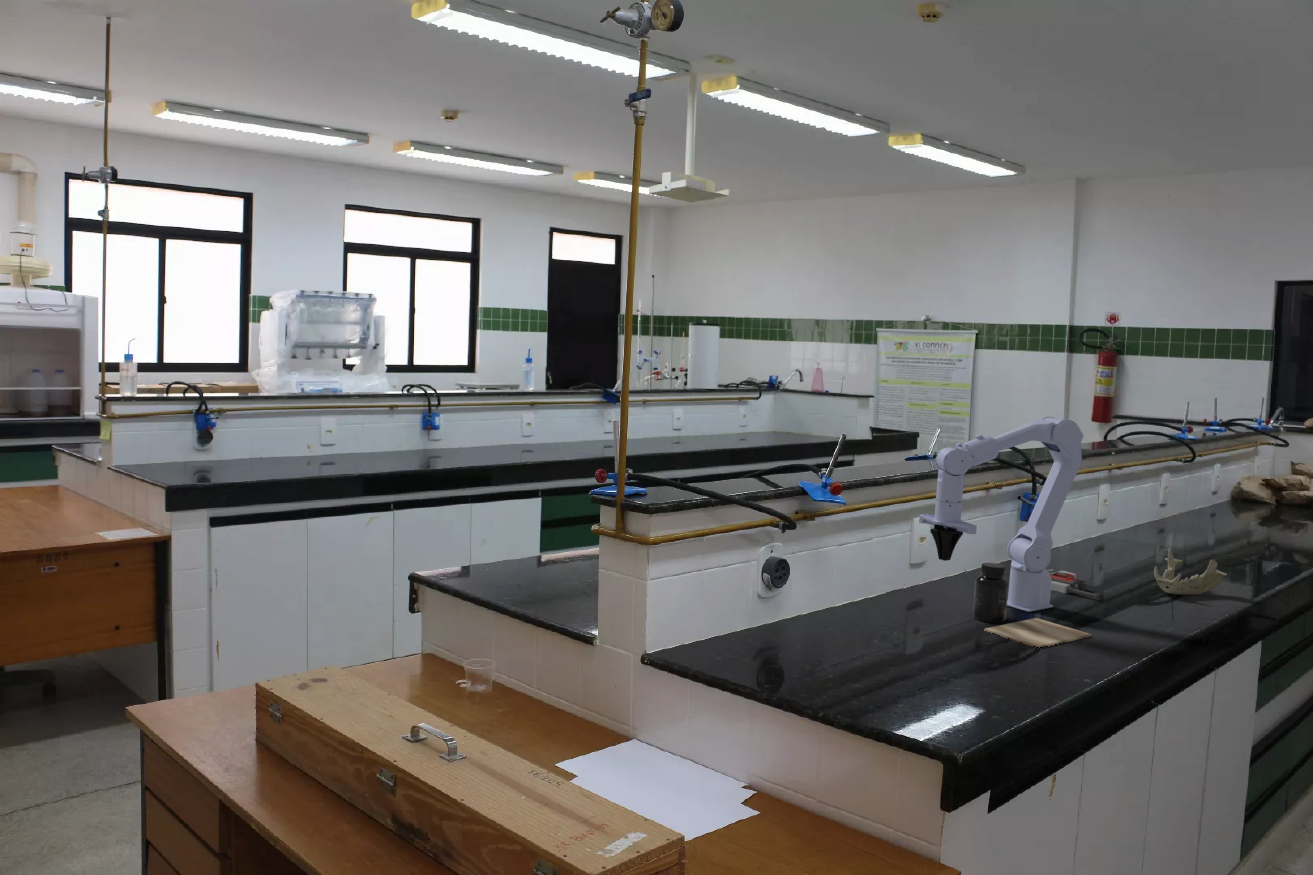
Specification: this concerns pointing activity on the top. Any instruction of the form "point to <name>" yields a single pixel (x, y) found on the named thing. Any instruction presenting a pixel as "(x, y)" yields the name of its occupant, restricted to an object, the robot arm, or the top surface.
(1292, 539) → the top surface
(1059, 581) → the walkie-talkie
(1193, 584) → the mandible
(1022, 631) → the tan paper sheet
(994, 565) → the supplement bottle
